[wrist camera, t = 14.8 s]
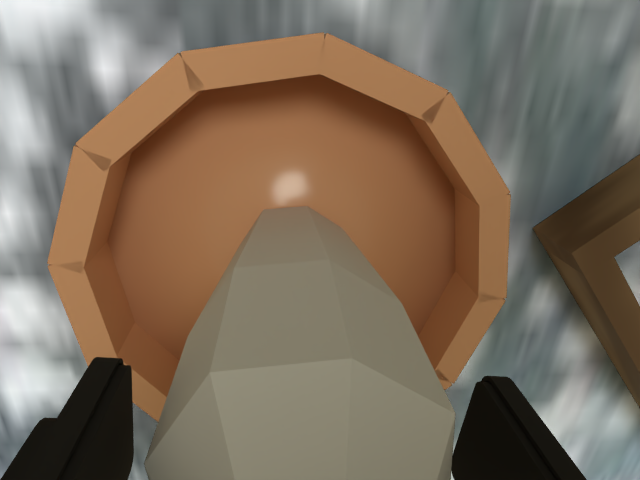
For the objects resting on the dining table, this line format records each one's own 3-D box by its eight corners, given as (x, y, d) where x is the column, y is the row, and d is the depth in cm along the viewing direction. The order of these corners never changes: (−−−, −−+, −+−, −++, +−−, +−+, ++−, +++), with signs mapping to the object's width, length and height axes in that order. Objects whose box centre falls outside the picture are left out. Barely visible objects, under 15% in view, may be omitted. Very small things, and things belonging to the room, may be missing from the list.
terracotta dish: (327, -61, 16) (341, -92, 13) (532, 269, 22) (577, 304, 19) (3, 223, 19) (-54, 257, 15) (266, 447, 25) (265, 505, 21)
